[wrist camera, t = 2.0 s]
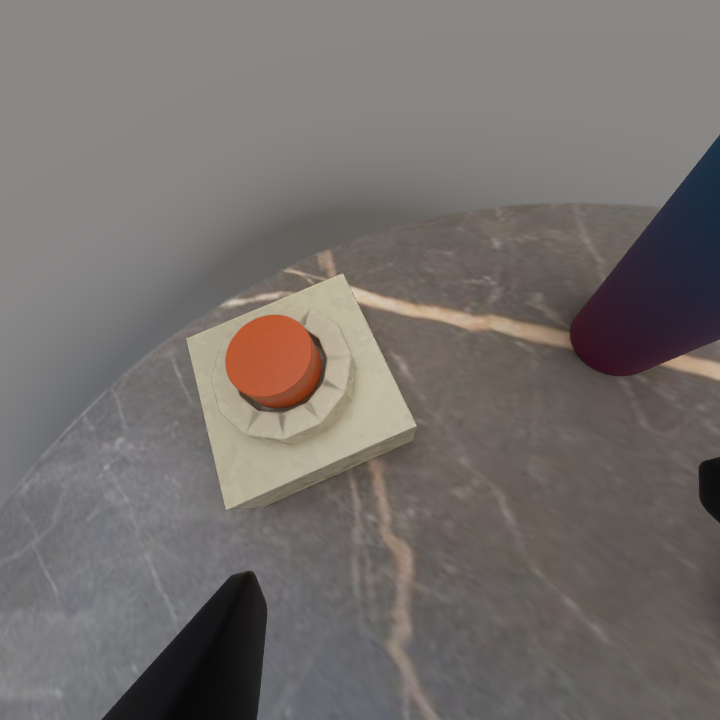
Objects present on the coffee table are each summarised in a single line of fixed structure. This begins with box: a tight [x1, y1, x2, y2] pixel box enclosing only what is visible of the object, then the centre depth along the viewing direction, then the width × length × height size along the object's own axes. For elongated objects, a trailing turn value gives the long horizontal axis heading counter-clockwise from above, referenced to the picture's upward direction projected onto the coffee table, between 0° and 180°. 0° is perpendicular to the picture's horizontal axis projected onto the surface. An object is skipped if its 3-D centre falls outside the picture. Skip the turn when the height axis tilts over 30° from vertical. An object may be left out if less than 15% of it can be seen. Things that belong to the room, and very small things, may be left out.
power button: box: [225, 315, 322, 408], centre depth 16 cm, size 4×4×2 cm
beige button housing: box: [186, 273, 417, 510], centre depth 20 cm, size 10×10×6 cm
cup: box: [570, 135, 720, 376], centre depth 15 cm, size 7×7×15 cm
